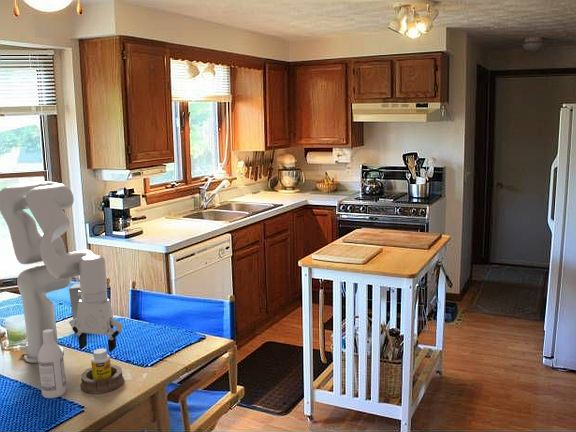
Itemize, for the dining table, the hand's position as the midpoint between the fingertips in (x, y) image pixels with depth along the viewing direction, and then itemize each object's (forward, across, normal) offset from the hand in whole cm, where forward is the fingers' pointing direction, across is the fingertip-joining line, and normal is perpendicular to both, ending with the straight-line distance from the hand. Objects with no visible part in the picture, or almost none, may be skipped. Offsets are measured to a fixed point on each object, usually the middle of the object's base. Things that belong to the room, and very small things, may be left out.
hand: (97, 348), depth 178 cm
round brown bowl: (+11, +1, -1) cm, 11 cm away
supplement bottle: (+11, +1, 0) cm, 11 cm away
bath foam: (+12, -10, -8) cm, 18 cm away
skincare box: (+14, -33, +46) cm, 58 cm away
